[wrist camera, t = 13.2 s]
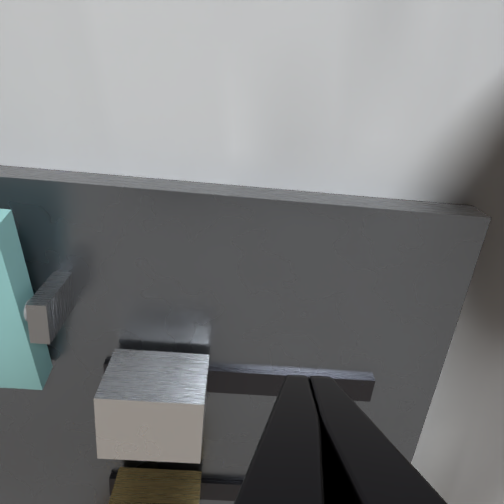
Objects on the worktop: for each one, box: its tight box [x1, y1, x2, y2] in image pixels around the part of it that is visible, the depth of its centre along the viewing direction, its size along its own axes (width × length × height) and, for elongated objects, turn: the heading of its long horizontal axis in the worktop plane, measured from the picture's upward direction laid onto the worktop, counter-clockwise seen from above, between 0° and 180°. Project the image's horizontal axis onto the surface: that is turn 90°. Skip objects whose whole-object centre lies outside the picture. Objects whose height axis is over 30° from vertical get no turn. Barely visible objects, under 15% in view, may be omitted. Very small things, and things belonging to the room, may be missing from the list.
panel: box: [0, 165, 491, 504], centre depth 21 cm, size 22×23×4 cm
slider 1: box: [94, 349, 209, 464], centre depth 18 cm, size 4×3×3 cm
